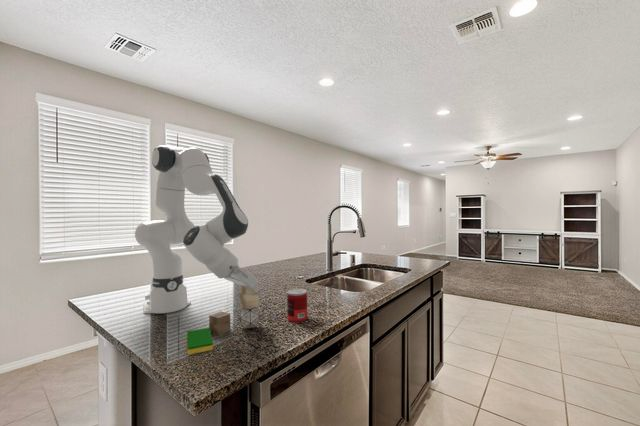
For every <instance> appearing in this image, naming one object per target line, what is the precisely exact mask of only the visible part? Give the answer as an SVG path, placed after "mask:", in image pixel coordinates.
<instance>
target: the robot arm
mask: <svg viewBox="0 0 640 426" xmlns="http://www.w3.org/2000/svg"><path fill="white" fill-rule="evenodd" d="M151 163H152V166H153V168H154V169H155V170H156V171H159V173H158V177H157V182H156V191H155V192H156V193H155V194H156V195H155V206H156V207H157V209H158V210H160V211H161V212H164V215H165V216H166V217H165V218H166V219H164V220H162V219H161V220H160V219H159V220H149V221H145V222H141V223H139V224H138V226H137V227H136V228H135V231H134V238H135V240H136V242H137V244H139V245H140V246H142V247H143V248H145V250H147V252H148V253H149V255H150V257H151V260H152V267H153V277H152V281H151V282H152V283H151V286H152V287H151V288H150V290H149V292H148V294H145V295H144V299H145V302H144V303H143V314H167V313H168V314H169V313H174V312H178V311H180V310H181V311H182V309H185V308H186V307H187V306H190V305H191V302H192V301H190V300H188V291H187V289H188V288H187V285H185V284H184V275H183V271H182V270H183V260H182V257H181V256H180V255H179V254H177V253H175V252H173V251H172V248H171V245H181V244H183V245H184V247H185V249H186V250H187V251H188V253H190V255H192V257H193V258H194V259H196V261H198V262H200V263H202V264H204V265H205V266H206V268H207V269H208V270H209V271H210V272H211V273H212V274H213V275H214V276H215V277H216V278H218V279H224V280H226V281H229V282H232V283H234V284H237V285H239V286H240V285H242V286H244V287H247V288H250V289H251V290H252V291H254V292H256V293H257V292H258V290H259V291H260V287H259V288H258V287H257V286H256V285H257V283H258V281H259V279H258V278H257V277H256V276H254V275H253V274H252V273H251V272H250V271H248V270H247V269H246V268H245V267H242V266H239V259H238V257H237V256H235V255H234V253H233V252H231V250H229V249H228V248H226V247H225V244H227V243H229V242H230V241H233V240H234V239H236V238H239V237H241V236H242V235H245V234H246V233H247V231H248V227H249V220H248V218H247V216H246V214H245V213H244V212H243V210H242V209H241V208H240V206H239V204H238V203H237V201H236V199H235V197H234V195H233V193H232V192H231V190H230V188H229V186H228V185H227V183H226V182H225V180H224V179H223V178H222V177H221V176H220V175H218V174H215V173H213V170H212V167H211V164H210V159H209V156H208V155H207V154H206V153H204V151H203V150H202V149H200V148H196V147H188V148H186V147H177V146H169V145H165V144H164V145H157V146H156V147H155V148H154V149H153V151H152V154H151ZM186 190H187V191H188V192H190V193H191V194H193V195H197V196H209V195H213V194H214V195H215V196H216V197H217V199H218V201H219V203H220V206H221V207H222V211H221V213H220V214H219V215H217V216H216V217H214V218H212V219H211V220H209V221H207V222H205V223H203V224H202V225H195V223H194V222H192V221H191V220H190V219H189V217H188V216H187V215H188V214H187V213H186V209H185V195H186Z"/></svg>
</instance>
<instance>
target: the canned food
mask: <svg viewBox="0 0 640 426" xmlns="http://www.w3.org/2000/svg"><path fill="white" fill-rule="evenodd" d="M286 304H287V305H286V307H287V308H286V309H287V310H286V312H287V315H286V317H287V321H289V322H290V323H297V324H298V323H303V322H305V321H306V320H308V319H307V318H308V291H307V289H304V288H293V289H292V288H291V289H289V290H287V291H286Z"/></svg>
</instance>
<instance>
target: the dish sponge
mask: <svg viewBox="0 0 640 426" xmlns="http://www.w3.org/2000/svg"><path fill="white" fill-rule="evenodd" d="M186 335H187V336H186V338H187V339H186V341H187V355H192V354H193V355H194V354H198V353H202V352H207V351H208V352H209V351H212V350H214V342H213V338H212V333H211V332H210V328H209V327H205V328H201V329H194V330H189V331H186Z"/></svg>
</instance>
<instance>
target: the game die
mask: <svg viewBox="0 0 640 426" xmlns="http://www.w3.org/2000/svg"><path fill="white" fill-rule="evenodd" d="M241 308H242V309H241V311H240V312H241V313H240V315H239V317H238V318H237V320H239V322H240V324H241V326H242V330H241V331H242V332H243V331H244V330H245V329H252V328H255V329H256V330H258V329H259V328H258V327H257V326H258V324H259V320H260V318H261V317H262V316H263V315H262V314H260V313H259V311H258V309H257V307H254V308H250V309H245V308H243V307H241Z"/></svg>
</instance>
